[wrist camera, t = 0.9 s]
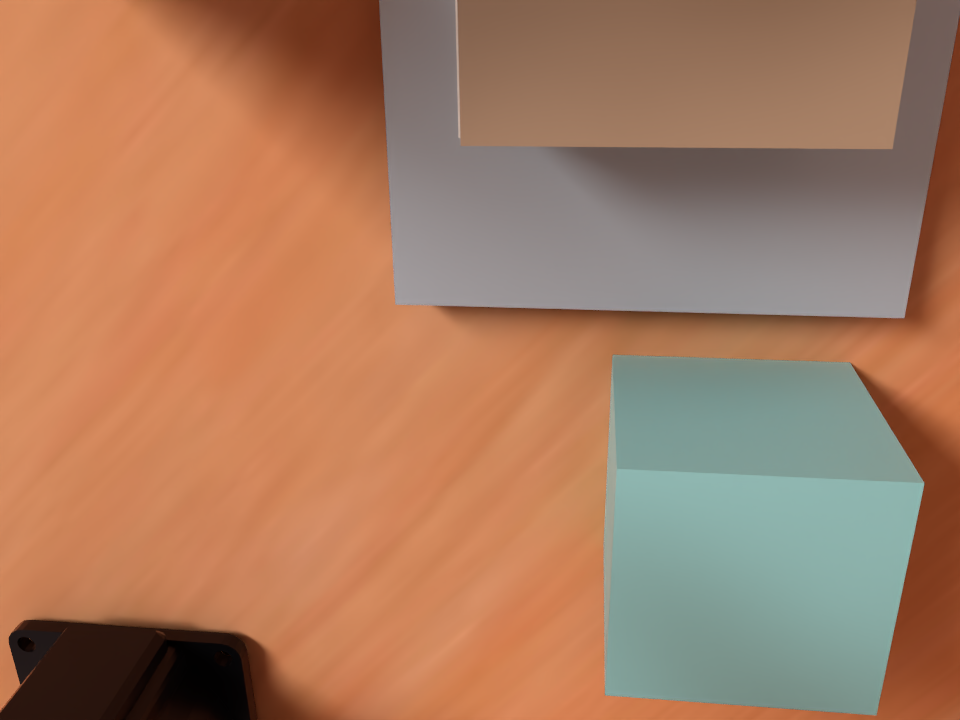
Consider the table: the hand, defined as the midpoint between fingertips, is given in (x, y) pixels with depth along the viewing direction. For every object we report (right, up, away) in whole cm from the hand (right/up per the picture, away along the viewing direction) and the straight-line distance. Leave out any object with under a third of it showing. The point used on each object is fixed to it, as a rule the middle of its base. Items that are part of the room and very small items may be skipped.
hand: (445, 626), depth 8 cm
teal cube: (+6, 0, +13) cm, 14 cm away
